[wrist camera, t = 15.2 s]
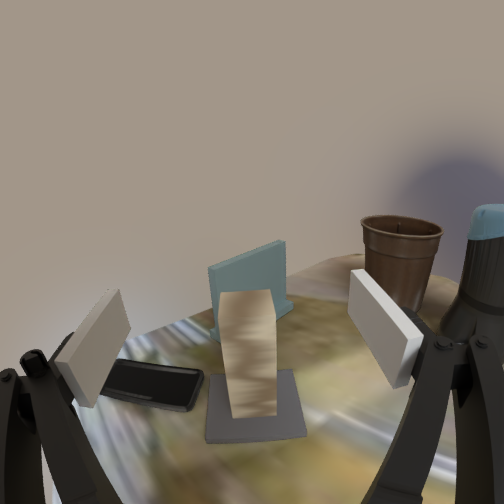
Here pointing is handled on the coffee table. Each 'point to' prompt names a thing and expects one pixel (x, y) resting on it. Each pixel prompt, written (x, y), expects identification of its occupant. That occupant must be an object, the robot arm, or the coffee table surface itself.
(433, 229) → the plant pot
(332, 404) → the coffee table surface
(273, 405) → the tall tan block
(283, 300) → the standing board
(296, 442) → the coffee table surface
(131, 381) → the phone
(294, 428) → the charcoal mat
